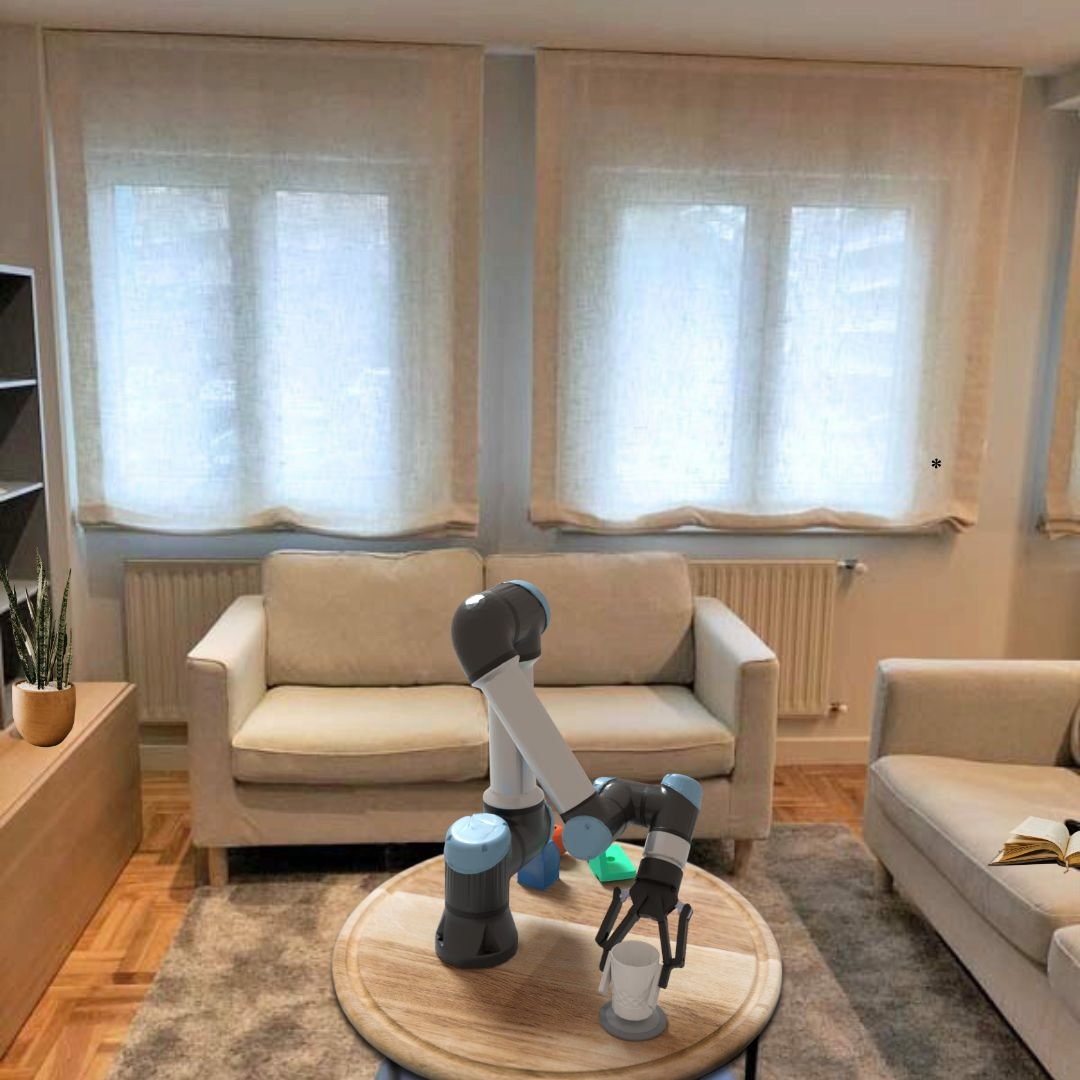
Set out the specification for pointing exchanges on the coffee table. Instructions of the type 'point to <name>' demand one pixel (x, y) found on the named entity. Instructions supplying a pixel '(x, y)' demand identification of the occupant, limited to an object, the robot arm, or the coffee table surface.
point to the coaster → (632, 1024)
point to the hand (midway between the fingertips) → (626, 1000)
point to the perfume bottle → (541, 869)
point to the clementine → (558, 839)
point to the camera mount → (612, 865)
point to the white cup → (632, 978)
